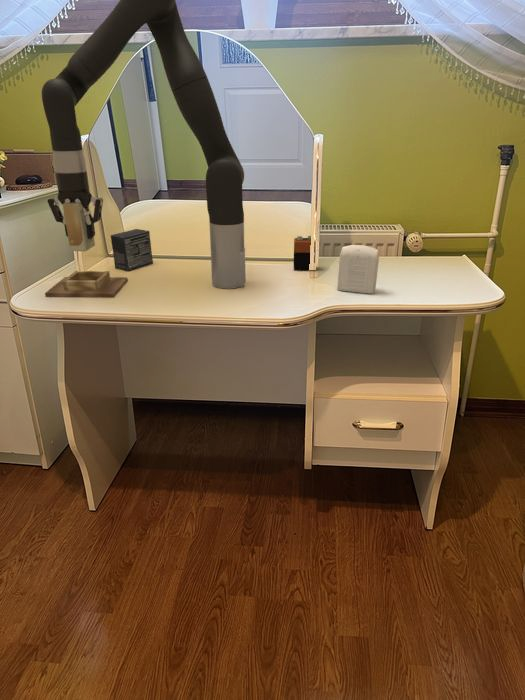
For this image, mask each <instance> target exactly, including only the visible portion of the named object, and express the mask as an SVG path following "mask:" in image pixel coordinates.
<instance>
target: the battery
mask: <svg viewBox="0 0 525 700" xmlns="http://www.w3.org/2000/svg"><path fill="white" fill-rule="evenodd" d="M311 236H312V235H307V237H303V236H302V235H300V236H299V235H297V237H294V238H293V270H294V271H295V270H298V271H301V272H303V271H306V272H309V271H308V270H309V264H310V245H311Z"/></svg>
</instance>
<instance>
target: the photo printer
mask: <svg viewBox="0 0 525 700" xmlns="http://www.w3.org/2000/svg"><path fill="white" fill-rule="evenodd" d="M379 260H380V256H379V250H378V249H377V248H375V247H372V246H369V245H363V244H352V245H345V246H343V247H342V248H341V251H340V253H339V262H338V272H337V273H338V274H337V275H338V276H337V287H336V289H337V291H344V292H351V293H352V292H353V293H362V294H373V295H374V294H375V293H376V289H377V288H376V287H377V279H378V270H379V263H380V262H379Z"/></svg>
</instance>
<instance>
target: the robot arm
mask: <svg viewBox="0 0 525 700" xmlns="http://www.w3.org/2000/svg"><path fill="white" fill-rule="evenodd" d="M180 16H181V15H180V13H179V10H178V6H177V1H176V0H119V1H118V3H117V4H116V5H115V6H114V8H113V10H111V12H110V13H109V14H108V16H107V17H106V18H105V19H104V20H103V22H102V23H101V24H100V25H99V26H98V27H97V28H96V30H95V31H94V32H92V33H91V35H90V36H88V38H87V39H86V40H85V41H84V42H83V44H81V46H80V47H79V48H78V49H76V51H75V52H74V53H73V54H72V56H71V57H70V58H69V60H68V62H67V64H66V66H65V67H64V68H63V69H62V71H60V73H59V74H58V75H57V76H55V78H52V79H49V80H46V82H45V83H44V84H43V86H42V87H41V101H42V106H43V110H44V111H43V112H44V114H45V119H46V121H47V124H48V128H49V136H50V143H51V149H52V161H53V163H52V164H53V170H54V174H55V180H56V188H57V190H58V194H57V196H55V197H50V198H48V199H47V204H48V206H49V209H50V211H51V212H52V215H53V217H54V219H55V222H57V223H61V224H62V225H63V226H64V232H65V236H66V237H67V238H68V233H67V227H66V221H65V216H64V212H63V213H62V210H61V207H60V204H61V205H62V206H63V204H64V203H71V202H76V203H80V204H81V206H82V211H83V212H82V213H83V216H84V219H85V221H86V223H87V225H86V227H87V233H88V239H92V238H93V236H94V237H95V236H96V231H95V229H96V228H95V223H98V222H99V221H100V220H101V219H102V218H101V217H102V212H103V205H104V199H103V198H102V197H99V198H98V197H94V196H93V195H92V194H91V191H90V184H89V178H88V169H87V163H86V158H85V153H84V150H83V142H82V136H81V135H82V134H81V132H80V128H79V126H78V123H77V116H76V115H77V114H76V108H75V107H76V106H77V105H78V104H79V102H80V101H81V100H82V98H83V97H84V96H85V95H86V94H87V92H88V91H89V89H90V88H91V87H92V86H94V85H95V84H96V83H97V82H98V81H99V79H101V78H102V77H103V75H104V74H106V72H107V71H108V70H109V69H110V68H111V67H112V66H113V64H114V63H115V62H116V60H117V59H118V58H119V56H120V54H122V51H123V50H124V48H125V47H126V46H127V44H128V43H129V42H130V40H131V39H132V38H133V36H134V35H135V34H136V33H137V32H138V31H139V30H140V29H141V28H142V27H143V26H144V25H145V24H146V25H147V26H148V29H149V31H150V33H151V35H152V37H153V39H154V41H155V44H156V46H157V49H158V51H159V53H160V58H161V62H162V64H163V69H164V72H165V75H166V79H167V81H168V84H169V88H170V90H171V92H172V94H173V95H172V96H173V97H174V100H175V102H176V105H177V107H178V109H179V111H180V113H181V115H182V117H183V119H184V121H185V122H186V124H187V126H188V127H189V129H190V131H191V132H192V133H193V135H194V136H195V138H196V140H197V141H198V143H199V146H200V148H201V150H202V152H203V155H204V159H205V161H206V165H207V167H208V168H207V170H206V173H205V192H206V194H205V195H206V208H207V213H208V219H209V222H208V223H209V224H208V225H209V240H210V241H209V243H210V262H211V263H210V265H211V266H210V267H211V268H210V269H211V284H212V286H213V287H215V288H219V289H236V288H243V287H244V288H245V285H246V280H247V279H246V278H247V277H246V247H245V212H244V206H243V205H244V203H243V201H244V200H243V183H244V181H245V170H244V168H243V165H242V163H241V162H240V159H239V158H238V156H237V154H236V152H235V150H234V148H233V145H232V144H231V142H230V139H229V137H228V135H227V133H226V129H225V126H224V123H223V122H224V121H223V119H222V116H221V113H220V109H219V106H218V103H217V100H216V97H215V94H214V92H213V89H212V86H211V83H210V81H209V78H208V76H207V74H206V71H205V69H204V67H203V65H202V63H201V61H200V59H199V57H198V55H197V53H196V52H195V49H194V48H193V45H192V44H191V43H190V41H189V39H188V36H187V35H186V31H185V29H184V26H183V23H182V20H181V17H180ZM91 202H92V206H93V207H94V208H93V215H92V212H91V208H90V204H91ZM89 208H90V209H89ZM86 209H87V212H86Z"/></svg>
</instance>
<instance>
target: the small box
mask: <svg viewBox="0 0 525 700" xmlns="http://www.w3.org/2000/svg"><path fill="white" fill-rule="evenodd" d="M150 232H151V231H150V230H145V229H138V228H134V229H131V230H127V231H123V232H117V233H114V234H110V242H111V246H112V247H111V248H112V254H113V262H114V269H117V270H121V271H125V272H130V271H134V270H137V269H140V268H143V267H147V266H150V265H152V264H154V260H153V255H152V254H153V253H152V242H151V236H150V235H151V233H150Z"/></svg>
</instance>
